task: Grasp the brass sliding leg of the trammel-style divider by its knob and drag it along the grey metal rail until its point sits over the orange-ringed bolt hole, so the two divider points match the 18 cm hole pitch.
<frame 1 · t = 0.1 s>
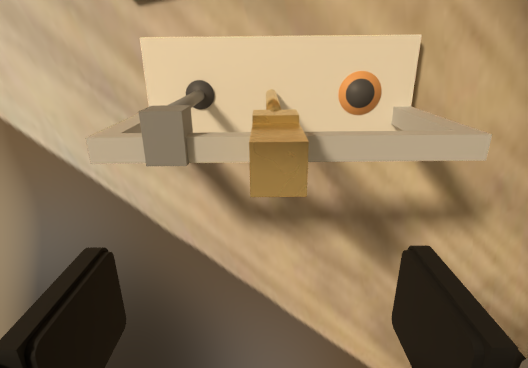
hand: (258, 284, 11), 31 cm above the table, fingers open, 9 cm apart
pitch gauge: (279, 92, 39), on the table
sliding leg: (273, 127, 27), point 13 cm above the table, slide at -1.0 cm
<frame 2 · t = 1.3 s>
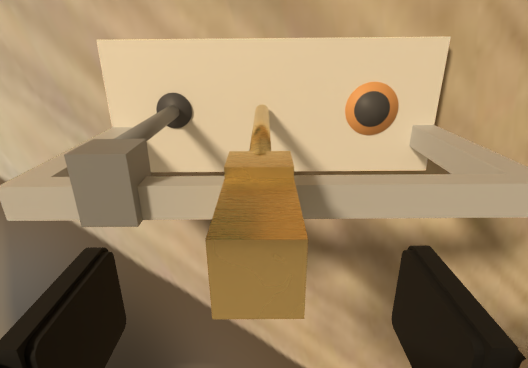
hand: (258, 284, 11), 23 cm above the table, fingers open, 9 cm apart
pitch gauge: (272, 107, 32), on the table
sliding leg: (260, 166, 20), point 13 cm above the table, slide at -1.0 cm
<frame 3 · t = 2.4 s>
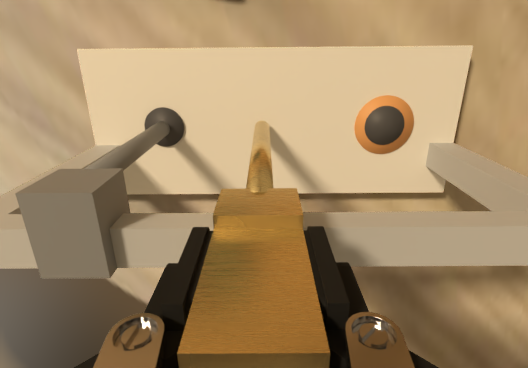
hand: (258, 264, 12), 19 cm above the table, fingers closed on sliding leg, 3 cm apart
pitch gauge: (273, 122, 29), on the table
sliding leg: (260, 198, 17), point 13 cm above the table, slide at -1.0 cm, touching gripper
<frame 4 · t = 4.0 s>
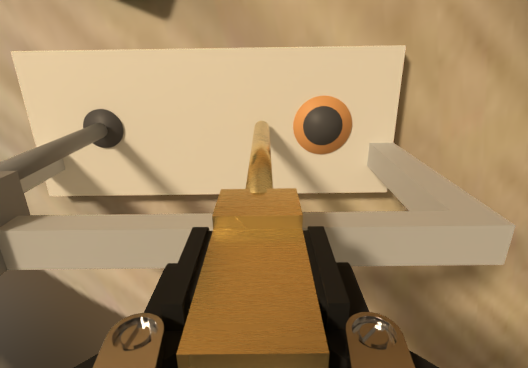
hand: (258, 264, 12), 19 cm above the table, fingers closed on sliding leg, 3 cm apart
pitch gauge: (215, 123, 29), on the table
sliding leg: (260, 199, 17), point 13 cm above the table, slide at 4.0 cm, touching gripper
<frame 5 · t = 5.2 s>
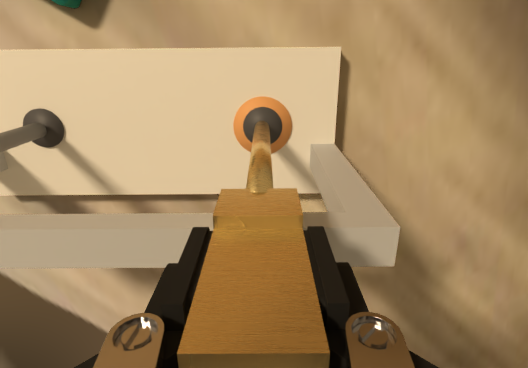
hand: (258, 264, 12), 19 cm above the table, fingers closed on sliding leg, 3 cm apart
pitch gauge: (158, 123, 29), on the table
sliding leg: (260, 198, 17), point 13 cm above the table, slide at 8.9 cm, touching gripper
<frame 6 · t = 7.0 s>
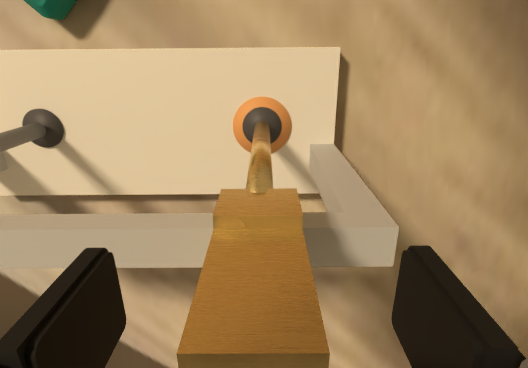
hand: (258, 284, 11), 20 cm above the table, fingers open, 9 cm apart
pitch gauge: (158, 123, 29), on the table
sliding leg: (260, 199, 17), point 13 cm above the table, slide at 9.0 cm
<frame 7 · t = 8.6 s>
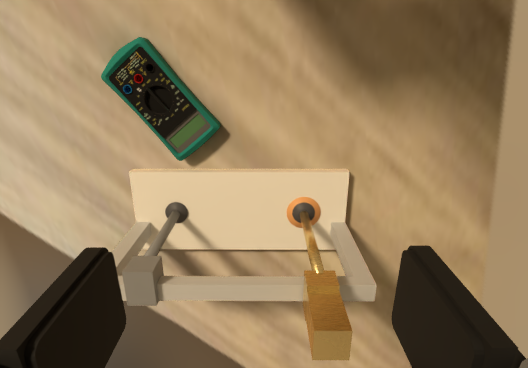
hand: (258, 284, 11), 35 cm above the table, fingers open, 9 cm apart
pitch gauge: (240, 208, 49), on the table
sliding leg: (313, 267, 37), point 13 cm above the table, slide at 9.0 cm
digital multimeter: (166, 100, 44), on the table
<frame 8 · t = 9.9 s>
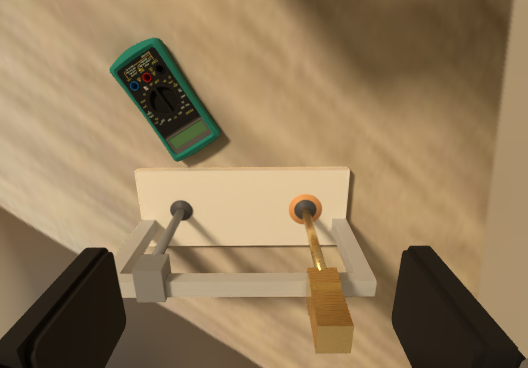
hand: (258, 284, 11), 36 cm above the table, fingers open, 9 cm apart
pitch gauge: (243, 205, 50), on the table
sliding leg: (316, 264, 38), point 13 cm above the table, slide at 9.0 cm
digital multimeter: (171, 101, 45), on the table
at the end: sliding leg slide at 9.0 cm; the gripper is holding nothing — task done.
